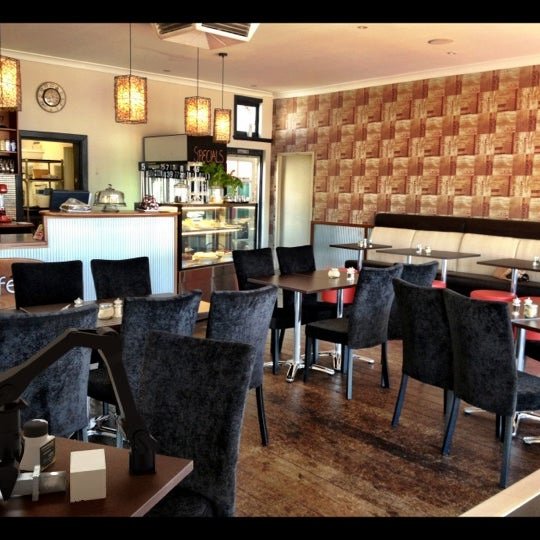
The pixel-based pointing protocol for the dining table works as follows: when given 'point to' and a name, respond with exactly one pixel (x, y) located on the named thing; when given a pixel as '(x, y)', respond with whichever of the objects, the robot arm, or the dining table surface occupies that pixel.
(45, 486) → the grey flanged bar
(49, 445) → the medicine bottle
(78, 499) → the block
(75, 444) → the dining table surface
